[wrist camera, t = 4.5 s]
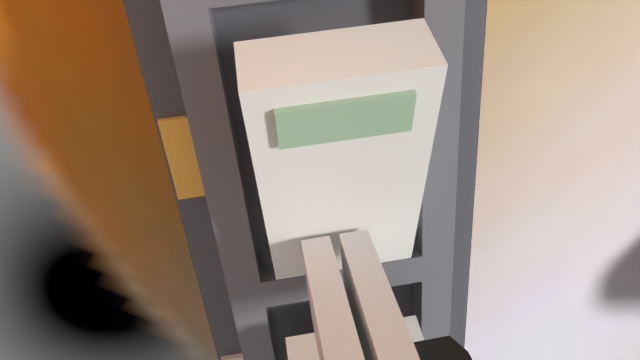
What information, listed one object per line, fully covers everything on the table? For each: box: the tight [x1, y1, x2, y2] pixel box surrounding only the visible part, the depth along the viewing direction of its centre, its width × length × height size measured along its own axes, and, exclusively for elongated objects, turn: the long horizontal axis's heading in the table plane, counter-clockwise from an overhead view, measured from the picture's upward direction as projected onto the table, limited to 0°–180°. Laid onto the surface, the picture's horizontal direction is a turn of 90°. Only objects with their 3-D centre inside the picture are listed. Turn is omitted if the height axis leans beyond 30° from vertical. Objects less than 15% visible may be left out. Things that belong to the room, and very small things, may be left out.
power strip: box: [123, 0, 487, 360], centre depth 16 cm, size 28×9×5 cm, turn 5°
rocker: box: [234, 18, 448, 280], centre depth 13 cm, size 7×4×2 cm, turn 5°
